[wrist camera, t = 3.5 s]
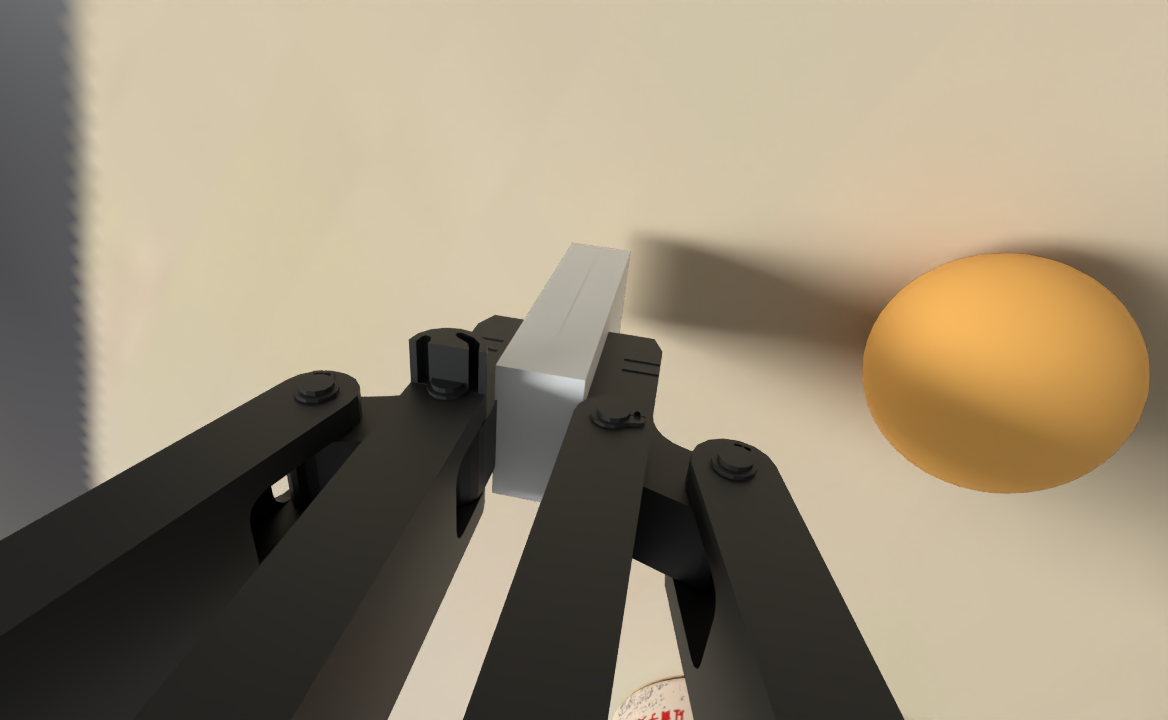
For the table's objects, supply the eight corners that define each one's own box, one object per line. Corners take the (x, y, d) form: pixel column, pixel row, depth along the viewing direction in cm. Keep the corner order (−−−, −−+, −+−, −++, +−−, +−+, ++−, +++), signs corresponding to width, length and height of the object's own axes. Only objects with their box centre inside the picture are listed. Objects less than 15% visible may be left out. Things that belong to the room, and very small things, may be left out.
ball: (1111, 240, 15) (1291, 339, 11) (1016, 424, 18) (1125, 569, 13) (879, 209, 16) (951, 289, 11) (820, 391, 19) (857, 519, 14)
